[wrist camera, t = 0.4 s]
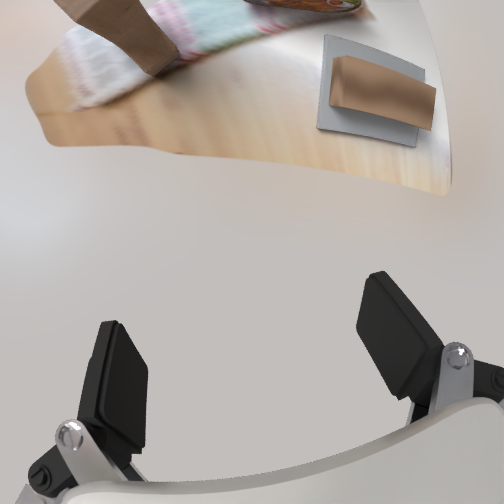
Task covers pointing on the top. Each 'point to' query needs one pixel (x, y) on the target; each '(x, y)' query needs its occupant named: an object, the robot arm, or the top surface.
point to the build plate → (360, 120)
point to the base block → (381, 92)
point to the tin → (312, 4)
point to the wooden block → (125, 30)
